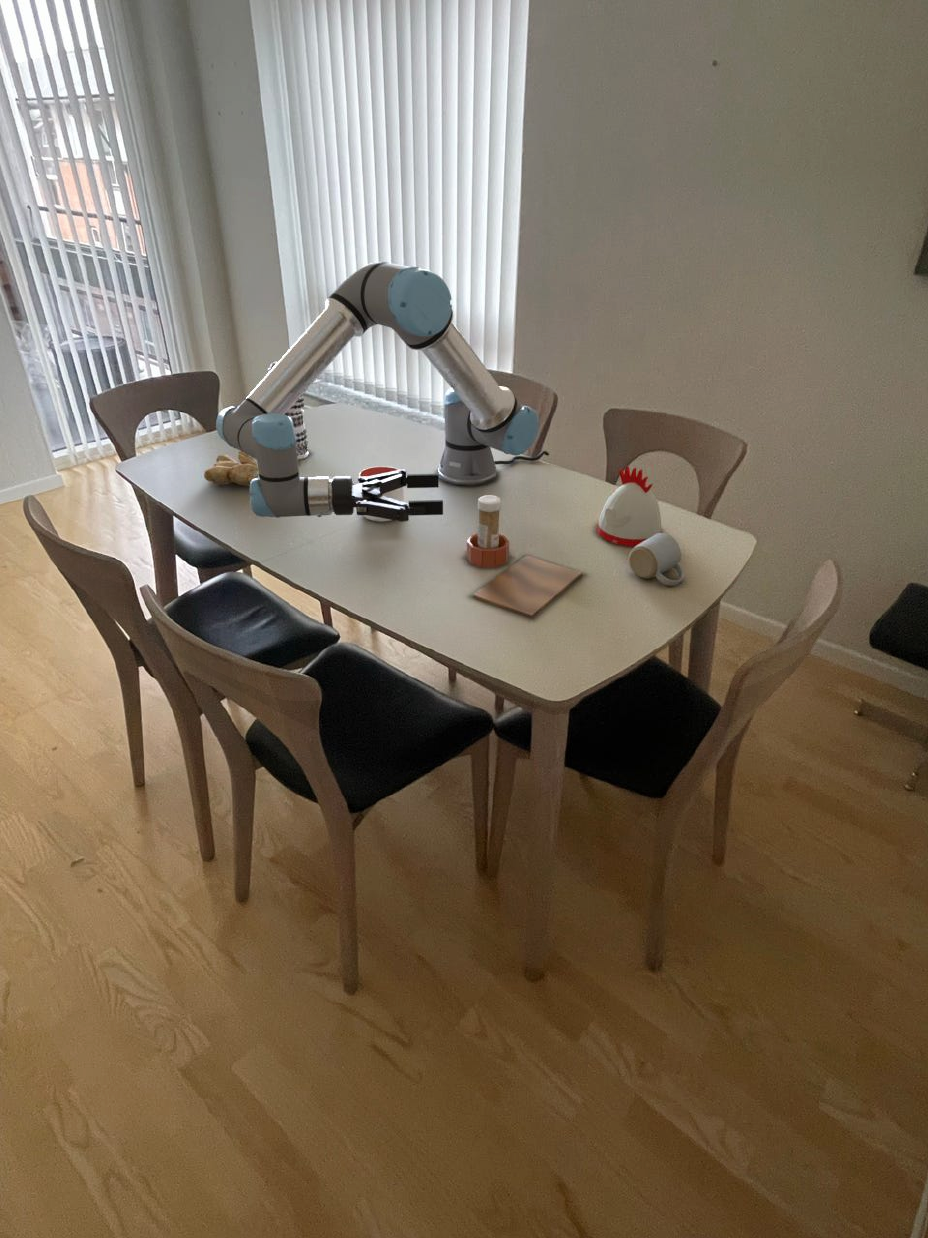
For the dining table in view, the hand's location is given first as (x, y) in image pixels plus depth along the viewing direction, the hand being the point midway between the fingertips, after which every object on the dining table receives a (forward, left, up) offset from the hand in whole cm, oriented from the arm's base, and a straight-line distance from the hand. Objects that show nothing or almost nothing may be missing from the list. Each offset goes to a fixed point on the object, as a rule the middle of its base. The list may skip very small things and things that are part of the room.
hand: (440, 493), depth 147 cm
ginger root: (-3, -68, -15) cm, 69 cm away
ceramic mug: (-20, +39, -15) cm, 47 cm away
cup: (-10, -25, -15) cm, 31 cm away
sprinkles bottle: (-6, +7, -15) cm, 18 cm away
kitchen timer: (-35, +26, -15) cm, 47 cm away
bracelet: (-6, +7, -15) cm, 18 cm away
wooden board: (-1, +20, -15) cm, 25 cm away
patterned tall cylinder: (-26, -71, -15) cm, 77 cm away
